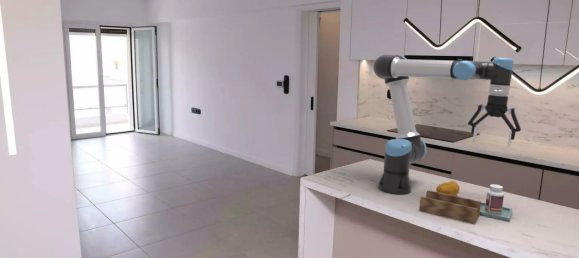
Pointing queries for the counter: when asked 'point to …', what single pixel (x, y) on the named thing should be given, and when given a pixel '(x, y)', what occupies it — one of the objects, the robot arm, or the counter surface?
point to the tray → (503, 215)
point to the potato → (448, 188)
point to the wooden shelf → (450, 206)
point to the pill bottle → (494, 199)
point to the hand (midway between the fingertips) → (491, 144)
